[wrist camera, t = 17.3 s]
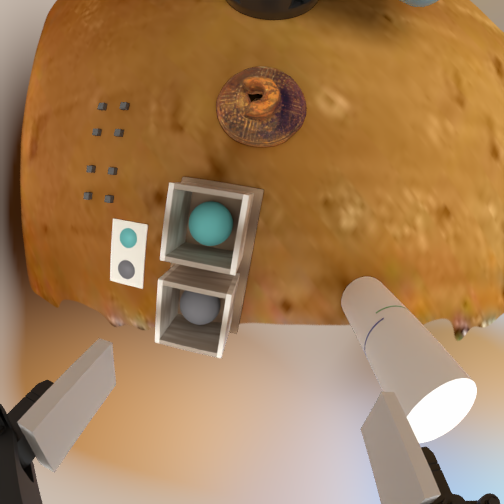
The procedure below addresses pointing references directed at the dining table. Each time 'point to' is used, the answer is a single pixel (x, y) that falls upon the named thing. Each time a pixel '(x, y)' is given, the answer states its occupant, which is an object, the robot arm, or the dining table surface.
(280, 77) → the brown patterned pot lid
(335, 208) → the dining table surface
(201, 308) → the ball charcoal
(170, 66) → the dining table surface
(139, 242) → the dot card
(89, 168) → the small grey cubes
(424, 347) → the cylindrical container
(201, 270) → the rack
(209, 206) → the ball teal
